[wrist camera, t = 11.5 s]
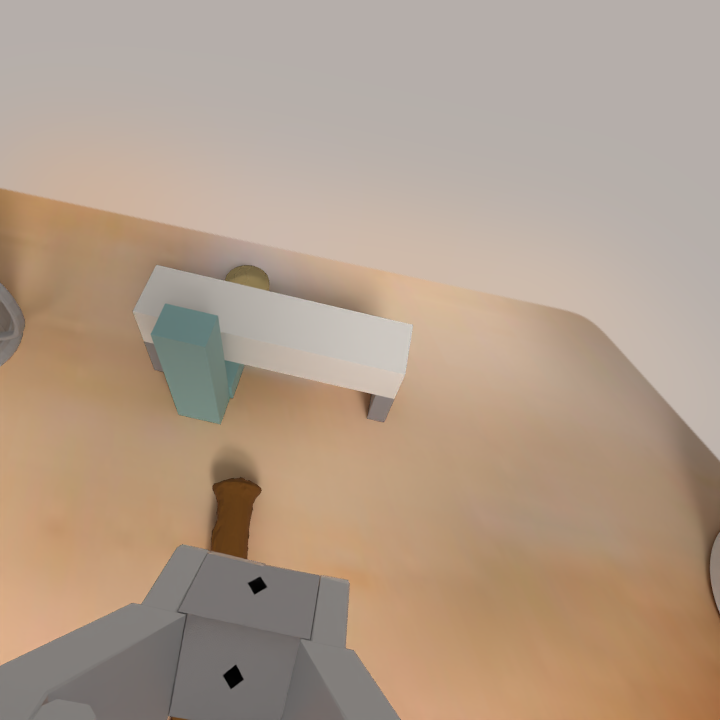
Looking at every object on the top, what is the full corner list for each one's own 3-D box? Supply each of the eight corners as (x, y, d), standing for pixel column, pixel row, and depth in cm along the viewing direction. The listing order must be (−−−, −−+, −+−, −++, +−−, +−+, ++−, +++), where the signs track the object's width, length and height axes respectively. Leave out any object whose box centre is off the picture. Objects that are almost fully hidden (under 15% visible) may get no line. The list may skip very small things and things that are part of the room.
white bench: (391, 377, 48) (413, 324, 41) (384, 422, 46) (405, 374, 39) (173, 327, 48) (156, 264, 41) (154, 369, 46) (132, 311, 38)
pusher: (262, 314, 50) (259, 220, 40) (223, 424, 44) (209, 348, 34) (219, 304, 50) (206, 207, 40) (175, 414, 44) (146, 333, 34)
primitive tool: (245, 796, 33) (241, 808, 30) (151, 802, 32) (137, 815, 29) (263, 485, 42) (262, 471, 39) (191, 485, 42) (185, 470, 39)
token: (274, 283, 52) (274, 271, 51) (262, 315, 50) (262, 304, 49) (234, 273, 52) (232, 261, 51) (220, 305, 50) (218, 293, 49)
